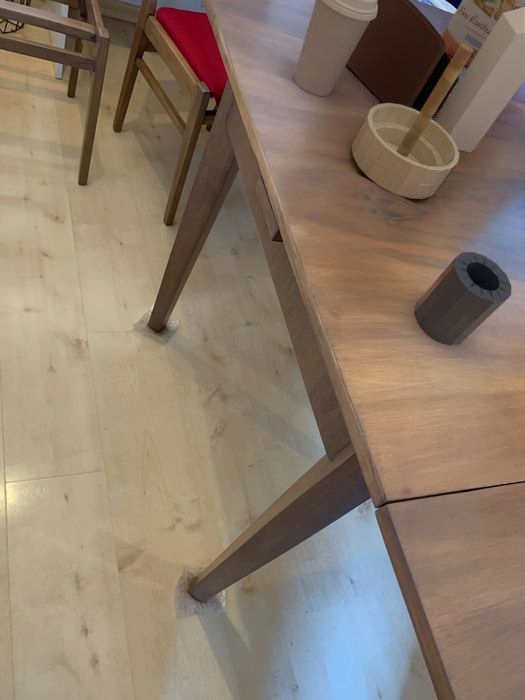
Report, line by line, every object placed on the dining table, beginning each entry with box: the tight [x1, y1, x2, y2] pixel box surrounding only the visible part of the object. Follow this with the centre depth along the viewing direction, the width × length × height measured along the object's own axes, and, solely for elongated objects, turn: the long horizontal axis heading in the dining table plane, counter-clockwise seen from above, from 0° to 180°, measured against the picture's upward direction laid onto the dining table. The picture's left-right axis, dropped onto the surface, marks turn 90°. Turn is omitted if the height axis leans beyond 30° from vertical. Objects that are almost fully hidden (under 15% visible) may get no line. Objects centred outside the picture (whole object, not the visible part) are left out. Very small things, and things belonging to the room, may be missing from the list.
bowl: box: [351, 103, 460, 200], centre depth 81 cm, size 14×14×6 cm
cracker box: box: [441, 0, 525, 68], centre depth 107 cm, size 14×6×21 cm, turn 55°
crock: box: [414, 251, 512, 346], centre depth 64 cm, size 7×7×9 cm
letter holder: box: [346, 0, 460, 117], centre depth 93 cm, size 10×20×14 cm, turn 35°
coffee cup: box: [293, 0, 378, 97], centre depth 85 cm, size 10×10×15 cm
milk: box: [434, 7, 525, 154], centre depth 86 cm, size 6×6×22 cm
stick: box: [396, 43, 473, 158], centre depth 76 cm, size 2×2×18 cm
